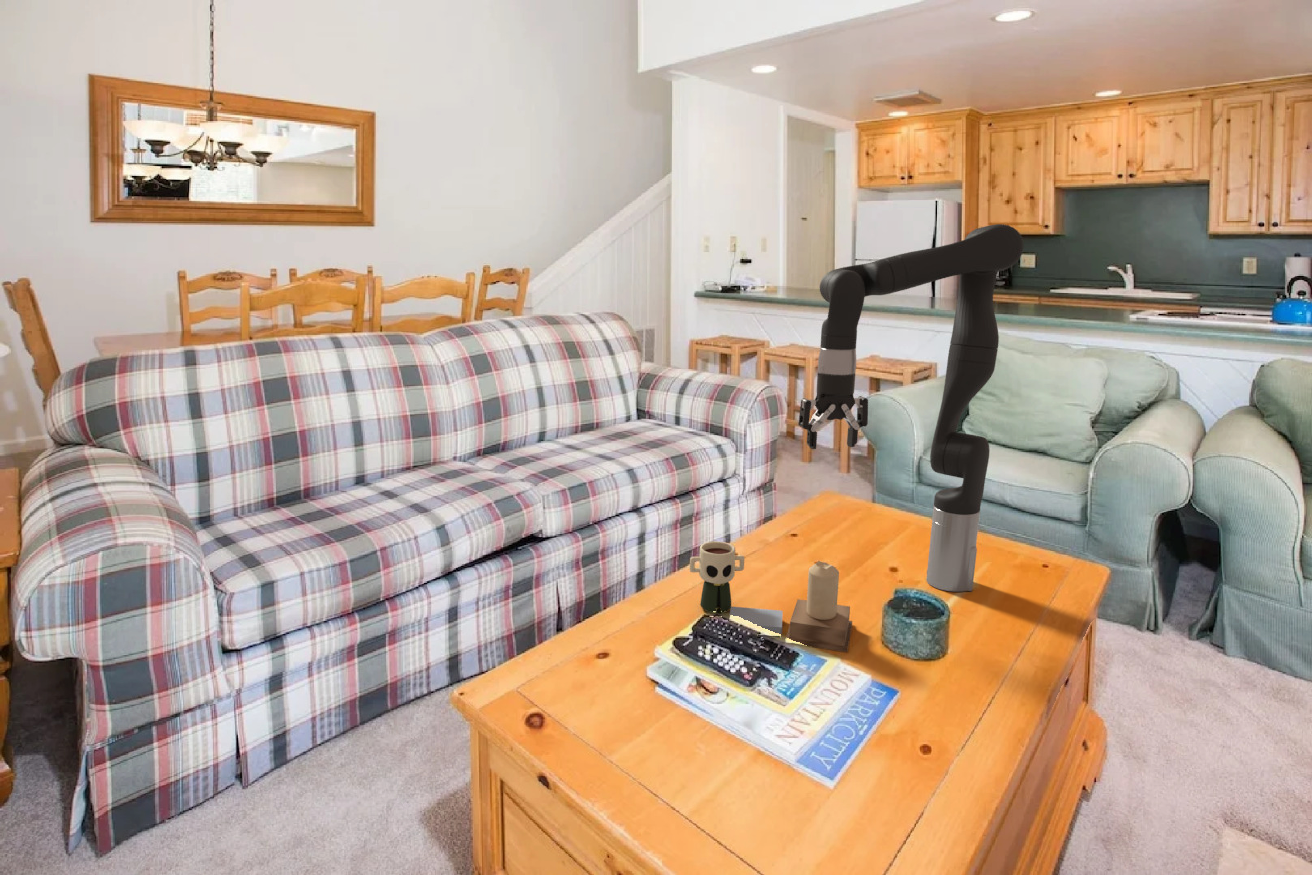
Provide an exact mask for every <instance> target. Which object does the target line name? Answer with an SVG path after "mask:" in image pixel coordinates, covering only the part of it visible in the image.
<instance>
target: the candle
mask: <svg viewBox="0 0 1312 875" xmlns="http://www.w3.org/2000/svg"><path fill="white" fill-rule="evenodd" d="M807 576H808V578H807V593H806V594H807V596H806V597H807V598H806V600H807V614H808V615H809V616H810V617H812V618H815V619H819V620H829V619H833V618H834V617H835V616H836V612H837V605H838V597H839V596H838V593H839V580H840V572H839V570H838V568H836V567H835V566H834V565H833V564H829V563H827V562H824V561H820V560H818V561H816V563H814V564H813V565H812V566H810V567H809V569H808V574H807Z"/></svg>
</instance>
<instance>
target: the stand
mask: <svg viewBox="0 0 1312 875" xmlns="http://www.w3.org/2000/svg"><path fill="white" fill-rule="evenodd" d="M850 611H851V606H849V605H842V604H837V612H836V616H835V617H834V618H833V619H829V620H819V619H815V618H812V617H810V616H809V615H808V614H807V599H805V600H804V599H799V598H797V600H796V603H795V606H794V609H793V611H792V615H791V617H790V621H789V627H788V630H787V633H786V636H785V638H786V637H787V638H789V639H791V640H793V641H796V642H800V643H802V644H804V645H807V646H806V647H810V646H812V647H811V648H817V649H824V650H829V651H836V652H843V653H848V651H849V650H848V649H849V645H850V640H851V635H852V634H851V633H852V627H853V621H852V620H850V615H851V612H850Z"/></svg>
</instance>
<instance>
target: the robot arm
mask: <svg viewBox="0 0 1312 875" xmlns="http://www.w3.org/2000/svg"><path fill="white" fill-rule="evenodd" d="M1024 245H1025V244H1024V240H1023V236H1022V235H1021V233H1020V232H1019V231H1018V230H1017V228H1014V227H1013V226H1011V225H1008V224H1003V223H997V224H991V225H986V226H981V227H978V228H975V229H974V230H972V231H970V232H969V233H968V234H967V235H966V236H965V238H964V239H963V240H960V241H956V242H953V243H948V244H945V245H941V246H936V247H931V248H925V249H921V250H920V249H919V250H914V251H909V252H904V253H900V254H896V255H893V256H888V257H885V258H881V259H878V260H875V261H871V262H868V263H861V264H856V265H849V266H843V267H839V268H835V269H833V270H830V271H828V272H827V273H826V274H825V275H824V276H823V277H822V279H821V280H820V284H819V292H820V295H821V297H822V299H824V300H825V301H826V302H827V303H828V312H827V318H826V319H824V321H823V322H822V325H821V332H820V349H819V354H818V359H817V360H818V361H817V378H816V396H815V397H814V399H807V398H805V397H803V398H801V400H800V407H799V415H798V416H799V417H798V426H799V427H801V428H802V429H804V430H806V431H807V432H806V445H807V446H808V447H809V449H811V450H816V449H817V439H818V431H817V430H818V429H819V427H820V426H821V425H822V424H824V423H825V421H826V420H828V421H833V420H840V421H841V420H843V419H844V421H845V422H846V423H847V424H848V425H847V426H848V428H847V439H846V444H847V445H846V446H848V447H849V448H855V446H856V445H857V444H858V436H859V430H860V429H861V428H863V427H867V426H868V424H869V422H868V421H869V417H868V416H869V400H868V398H867V397H864V396H862V395H859V396H857V397H854V394H855V386H856V385H855V384H856V374H857V373H856V371H857V339H858V338H857V336H858V325H859V321H860V319H861V316H862V315H861V314H862V311H863V307H864V303H865V297H870V296H885V295H890V294H894V293H898V292H902V291H905V290H910V289H912V288H916V287H919V286H922V285H926V284H930V283H932V282H937V281H940V280H943V279H946V278H950V277H955V276H959V277H958V294H957V300H956V301H957V302H956V308H955V312H954V317H953V318H954V319H953V326H952V332H951V338H950V343H949V350H948V354H947V355H948V356H947V363H946V373H945V380H944V386H943V394H942V398H941V404H940V409H939V412H938V417H937V422H936V426H935V429H934V434H933V438H932V444H931V449H930V456H929V459H930V460H929V463H930V467H931V469H932V470H933V471H934V472H935V473H937V474H941V475H945V476H949V477H955V478H960V479H962V484H961V485H960V486H958V487H951V488H945V489H941V490H939V491H937V492H936V493H935V494H934V499H933V510H932V518H931V521H932V522H931V528H930V529H931V530H930V540H929V550H928V560H927V569H926V578H925V580H926V582H927V583H928V584H929V585H930V586H932V587H934V588H935V589H938V590H940V591H947V592H952V593H953V592H955V593H956V592H959V593H960V592H965V591H966V592H972V591H973V586H974V578H975V569H976V562H977V561H976V560H977V552H978V548H977V540H978V532H979V523H980V514H981V505H982V500H983V496H984V490H985V483H986V479H987V478H986V476H987V472H988V471H987V470H988V465H989V459H990V450H991V449H990V444H989V440H988V439H987V438H985V437H984V436H982V435H981V436H980V435H975V434H970V433H969V434H968V433H963V432H957V430H958V425H959V421H960V419H961V416H962V413H963V412H964V410H965V408H966V407H967V406H968V404H969V403H970V402H971V401H972V399H974V397H975V396H976V395H977V394H978V393H979V392H980V391H981V390H982V389H983V388H984V386H985V385H986V384H987V383H988V382H989V380H990V379H991V377H992V376H993V374H994V372H995V369H996V361H997V357H998V356H997V355H998V349H999V343H1000V342H999V341H1000V340H999V339H1000V336H999V328H998V323H997V318H996V314H995V313H996V312H995V310H994V290H995V285H996V280H997V276H998V273H999V272H1002V271H1005V270H1008V269H1009V268H1011V267H1013V266H1014V265H1016V263H1017V262H1018V261H1019V260H1020V258H1021V257H1022V254H1023V252H1024ZM854 406H855V408H857V409H856V411H857V412H856V418H855V416H854V414H853V413H852V412H851V410H852V409H853V407H854ZM814 407H815V408H816V411H815V412H814V413H813V414H812V416H811V410H813V408H814ZM810 416H811V419H810Z"/></svg>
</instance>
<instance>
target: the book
mask: <svg viewBox="0 0 1312 875" xmlns="http://www.w3.org/2000/svg"><path fill="white" fill-rule="evenodd" d="M783 612H784V611H783V610H780V609H779V610H777V609H769V608H768V609H767V608H766V609H765V608H755V607H742V606H732V605H731V609H729V615H733V616H739V617H741V618H743V619H744V620H748V621H750V622H752V623H753V624H757V626H761V627H762V628H765V629H768V630H770V631H773V632H775V633H779V634H782V633H783Z"/></svg>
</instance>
